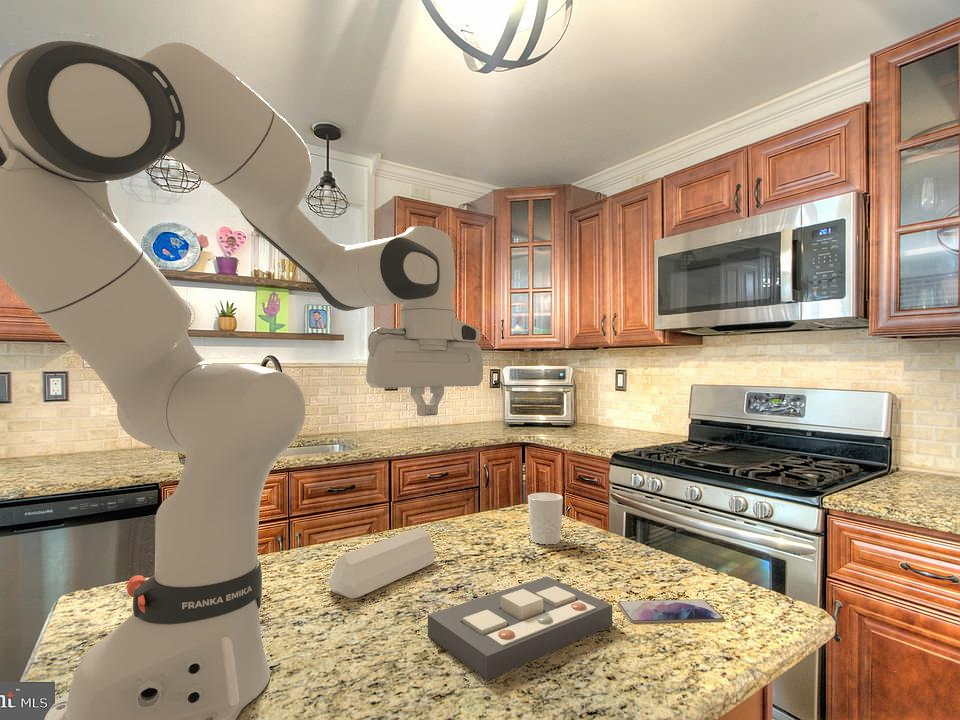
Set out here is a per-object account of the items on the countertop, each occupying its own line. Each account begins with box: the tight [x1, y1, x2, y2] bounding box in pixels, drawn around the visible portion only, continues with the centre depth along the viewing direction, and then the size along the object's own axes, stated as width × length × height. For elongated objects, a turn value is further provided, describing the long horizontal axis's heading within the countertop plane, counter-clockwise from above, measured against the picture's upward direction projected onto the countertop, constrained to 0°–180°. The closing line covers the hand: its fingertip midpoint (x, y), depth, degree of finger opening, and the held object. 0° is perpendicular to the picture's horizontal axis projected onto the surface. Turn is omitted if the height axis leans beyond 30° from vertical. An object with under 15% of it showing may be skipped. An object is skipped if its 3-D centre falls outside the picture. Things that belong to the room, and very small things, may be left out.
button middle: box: [501, 589, 543, 621], centre depth 78 cm, size 4×4×3 cm
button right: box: [536, 586, 576, 607], centre depth 82 cm, size 4×4×3 cm
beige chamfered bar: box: [328, 526, 436, 599], centre depth 98 cm, size 7×7×24 cm
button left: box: [463, 610, 507, 635], centre depth 74 cm, size 4×4×3 cm
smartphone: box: [617, 598, 725, 625], centre depth 84 cm, size 7×1×15 cm
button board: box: [427, 576, 613, 681], centre depth 78 cm, size 24×14×3 cm, turn 127°
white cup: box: [527, 492, 564, 545], centre depth 120 cm, size 8×8×10 cm
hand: (427, 415), depth 85 cm, fingers closed
